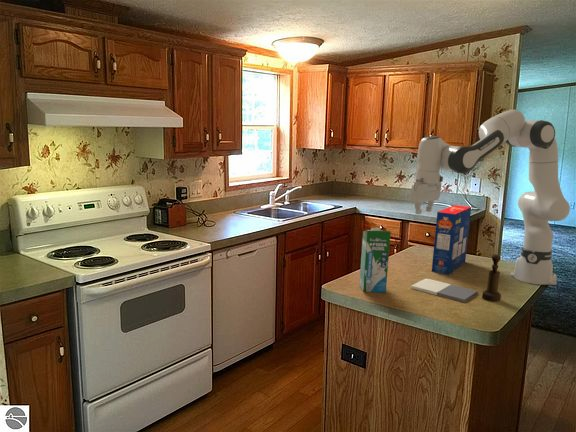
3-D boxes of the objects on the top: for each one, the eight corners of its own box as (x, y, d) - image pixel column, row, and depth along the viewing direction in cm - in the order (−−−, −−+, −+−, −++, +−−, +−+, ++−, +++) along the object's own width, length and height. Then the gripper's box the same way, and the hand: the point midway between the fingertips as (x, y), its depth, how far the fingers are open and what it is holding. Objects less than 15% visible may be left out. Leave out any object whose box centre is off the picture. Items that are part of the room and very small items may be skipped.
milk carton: (381, 285, 197) (385, 226, 193) (385, 292, 188) (390, 230, 184) (359, 284, 197) (363, 225, 192) (363, 292, 188) (367, 230, 183)
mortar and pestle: (495, 296, 189) (501, 252, 186) (503, 302, 183) (509, 256, 179) (479, 295, 189) (484, 251, 186) (486, 301, 182) (491, 256, 179)
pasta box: (449, 259, 242) (454, 205, 237) (465, 262, 238) (471, 207, 233) (431, 271, 220) (437, 211, 214) (449, 275, 215) (455, 214, 210)
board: (425, 280, 205) (426, 278, 205) (477, 293, 191) (477, 291, 191) (410, 288, 195) (411, 285, 194) (464, 302, 181) (464, 299, 180)
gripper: (422, 180, 177) (419, 216, 180) (445, 177, 192) (441, 211, 195) (407, 178, 181) (404, 214, 184) (430, 175, 196) (427, 209, 199)
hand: (423, 212), depth 189 cm, fingers open, 8 cm apart
